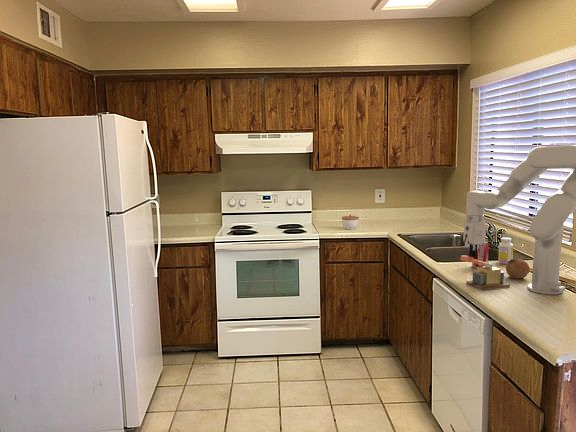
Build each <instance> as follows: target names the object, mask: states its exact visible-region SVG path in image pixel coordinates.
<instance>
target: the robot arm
mask: <svg viewBox="0 0 576 432" xmlns="http://www.w3.org/2000/svg"><path fill="white" fill-rule="evenodd" d="M551 169H553V170H554V169H555V170H557V169H560V170H561V169H571V171H570V172H569V174H568V176H567V177H565V180H564V182H563V183H562V185H561V186H560V187H559V189H558V190H557V191H556V192H555V193H552V194H551V195H550V196H549V197H547V199H546V200H544V202H543V204H542V206H541V207H540V209H539V210H538V211H537V213H536V214H535V216H534V218H533V219H532V221H531V222H530V225H529V232H530V235H531V236H532V237H533V238H534V245H533V260H532V261H533V262H532V272H531V273H532V274H531V275H532V278H531V283H529V284H528V285H526V286H527V287H526V288H527V289H528V290H529V291H531V292H533V293H537V294H543V295H551V296H552V295H561V294H562V293H564V292H565V290H567V288H566V286H562V283H561V281H560V270H561V269H560V267H561V254H562V243H563V237H564V229H565V225H564V223H565V222H566V221H567V219H568V218H569V216H570V215H571V214H573V213H574V212H575V211H576V144H574V145H573V144H571V145H570V144H569V145H557V146H555V145H554V146H537V147H534V148H532V149H531V150H530V151H528V154H527V157H526V158H525V159H523V160H522V162H521V163H519V164H517V166H516V167H514V168H513V169H512V170H511V172H510V175H509V177H508V179H506V181H504V183H503V184H502V185H501V186H499V187H498V188H496V189H495V190H493V191H488V192H487V191H486V192H485V191H483V190H470V191H467V194H466V210H465V223H464V228H463V235H462V236H463V238H462V239H463V240H462V241H463V243H464V247H465V248H468V256H470V257H474V259H477V252H478V249H479V246H480V245H482V243H484V242H485V241H487V240H486V238H487V237H486V236H487V234H486V233H487V232H486V231H487V230H486V229H487V227H486V222H485V210H486V209H487V210H496V209H498V208H499V209H500V208H502V207H504V206H506V205H507V204H508V203H510V202H511V201H512V200H513V199H514V198H516V197H517V196H518V195H519V194H520V193H521V192H522V191H524V189H526V188H527V187H528V186H529V185H530V184H531V183H532V182H534V181H535V180H536V179H537V178H539V177H540V176H541V175H542V174H544V173H545V171H547V170H551Z"/></svg>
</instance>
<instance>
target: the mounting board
mask: <svg viewBox="0 0 576 432" xmlns="http://www.w3.org/2000/svg"><path fill="white" fill-rule="evenodd" d="M465 282H466V285H468V286H470V287H473V288H475V289H477V290H480V291H483V292H484V291H491V290H499V289H507V288H510V287H511V284H510V283H508V282H505V281H504V283H500V284H497V285H489V286H486V285H483V286H480V285H477V284H475V283H472V280H467V281H465Z"/></svg>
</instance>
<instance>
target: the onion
mask: <svg viewBox="0 0 576 432" xmlns="http://www.w3.org/2000/svg"><path fill="white" fill-rule="evenodd" d="M505 265H506V266H505V271H506V274H507V275H508V276H509V277H510V278H512V279H515V280H518V279H521V280H522V279H524V278H526V277H527V276H528V275H529V273H530V272H531V271H530V270H531V269H530V268H531V267H530V265H529V263H528V262H527V261H526V260H524V259H520V258H519V259H517V258H513V259H512V260H510V261H509V262H508V264H505Z"/></svg>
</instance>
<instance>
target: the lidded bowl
mask: <svg viewBox="0 0 576 432" xmlns="http://www.w3.org/2000/svg"><path fill="white" fill-rule="evenodd" d="M359 219H360V217H359V216H356V215H352V214H349V215H345V216H342V217H341V223H342V226H343V228H344V229H345V230H349V231H353V230H356V229H357V227H358V226H359V221H360V220H359Z"/></svg>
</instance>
